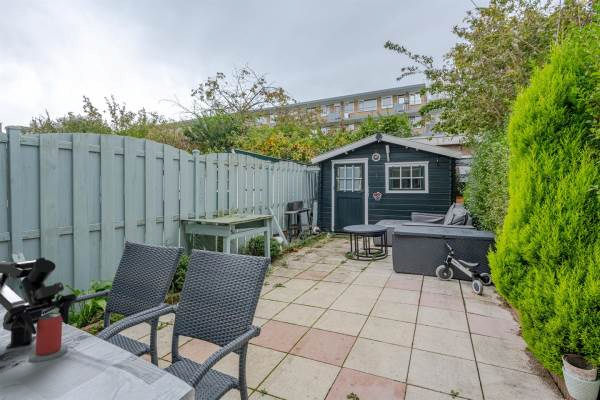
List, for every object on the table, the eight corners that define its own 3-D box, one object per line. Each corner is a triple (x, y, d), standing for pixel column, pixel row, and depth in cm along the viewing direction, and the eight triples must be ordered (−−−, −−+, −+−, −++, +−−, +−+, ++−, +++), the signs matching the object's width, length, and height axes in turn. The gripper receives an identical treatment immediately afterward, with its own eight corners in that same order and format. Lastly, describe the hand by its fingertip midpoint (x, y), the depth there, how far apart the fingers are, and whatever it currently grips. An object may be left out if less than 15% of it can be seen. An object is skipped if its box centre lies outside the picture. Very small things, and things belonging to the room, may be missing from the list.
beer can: (46, 357, 95) (47, 320, 95) (30, 354, 97) (31, 318, 97) (66, 348, 102) (67, 313, 102) (50, 345, 103) (52, 311, 103)
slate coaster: (34, 350, 101) (34, 348, 101) (70, 344, 106) (70, 342, 106) (23, 364, 92) (23, 362, 92) (63, 357, 97) (63, 355, 97)
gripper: (8, 282, 93) (25, 324, 88) (75, 270, 110) (92, 305, 105) (-4, 303, 96) (11, 345, 91) (62, 289, 113) (78, 323, 108)
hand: (51, 328), depth 99 cm, fingers open, 9 cm apart
